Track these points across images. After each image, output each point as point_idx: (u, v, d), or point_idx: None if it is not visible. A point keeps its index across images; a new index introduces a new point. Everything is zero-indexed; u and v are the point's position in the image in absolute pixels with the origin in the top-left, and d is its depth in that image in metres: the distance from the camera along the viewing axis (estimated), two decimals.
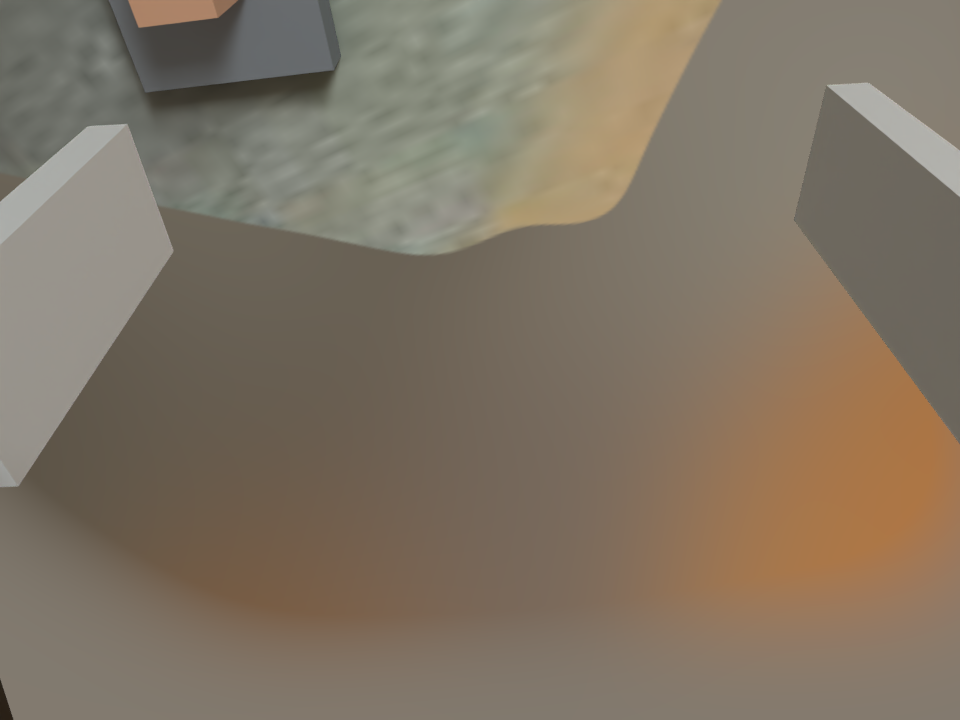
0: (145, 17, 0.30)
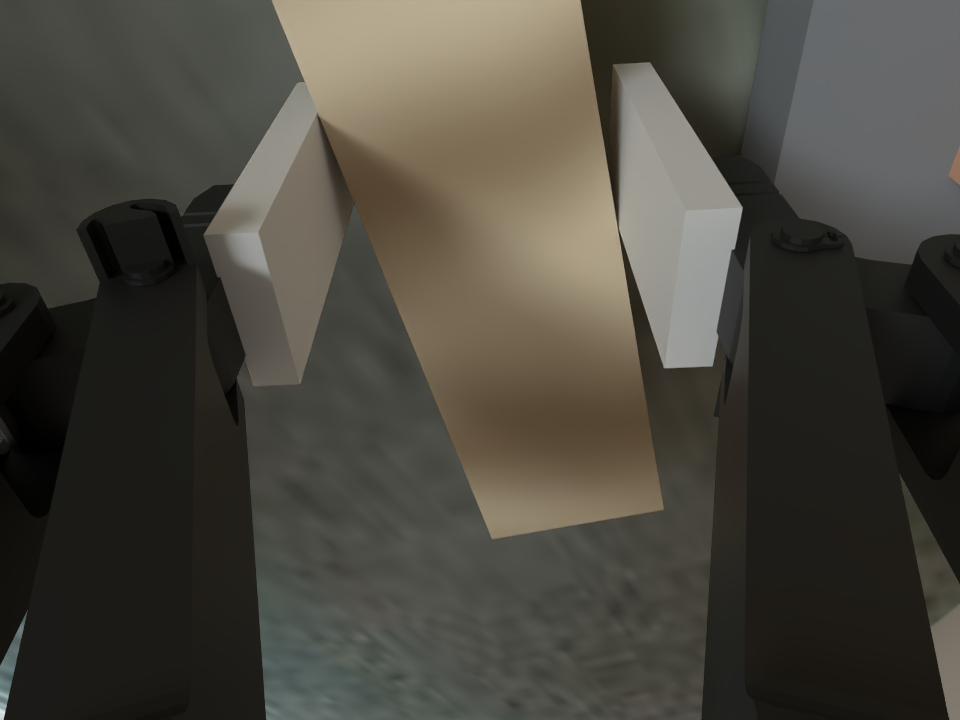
0: None
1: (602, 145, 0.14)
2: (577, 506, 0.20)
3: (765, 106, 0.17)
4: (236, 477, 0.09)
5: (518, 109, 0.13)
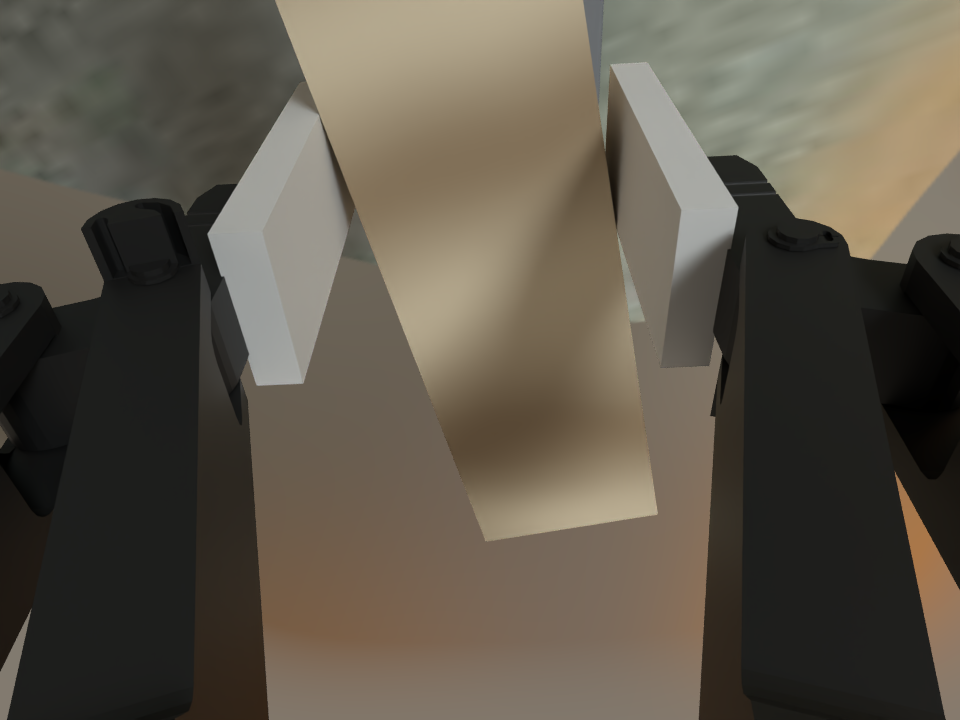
0: None
1: (603, 150, 0.14)
2: (571, 510, 0.20)
3: None
4: (240, 476, 0.09)
5: (520, 113, 0.13)
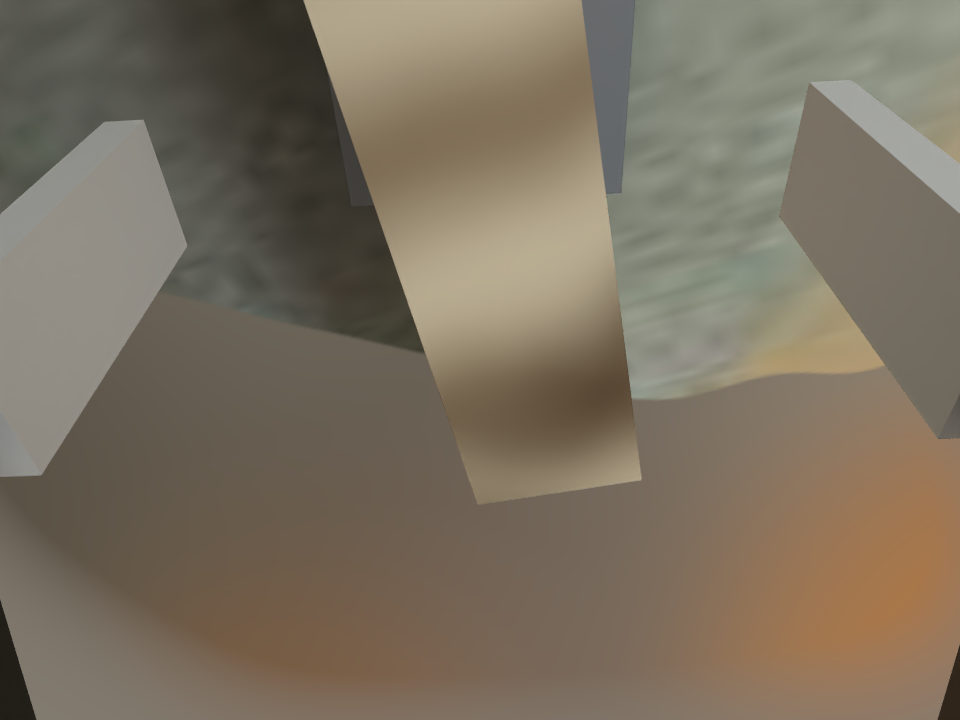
0: None
1: (595, 124, 0.15)
2: (560, 474, 0.21)
3: None
4: None
5: (518, 87, 0.14)
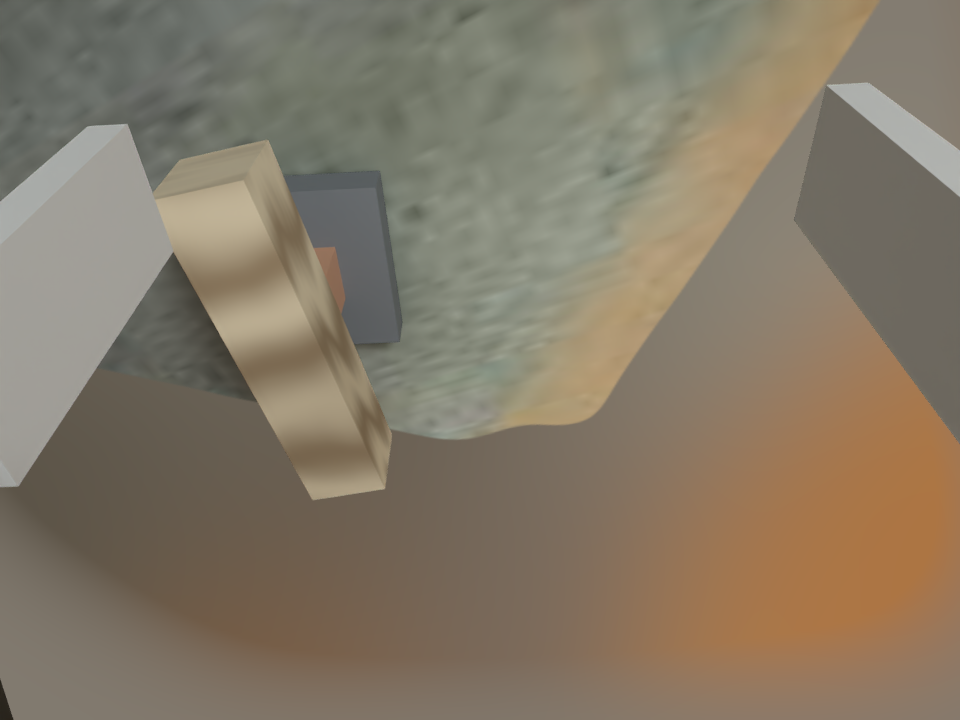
0: None
1: (325, 360, 0.40)
2: (347, 486, 0.47)
3: (293, 182, 0.46)
4: None
5: (294, 349, 0.40)
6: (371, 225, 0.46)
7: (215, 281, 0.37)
